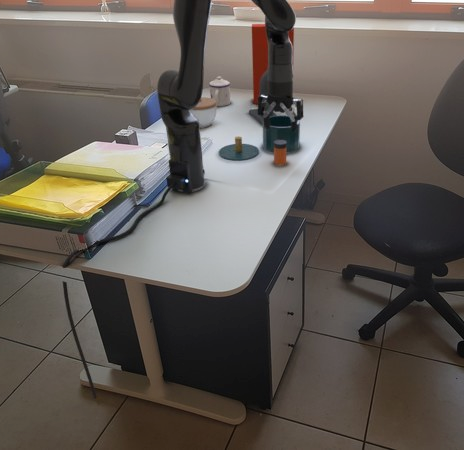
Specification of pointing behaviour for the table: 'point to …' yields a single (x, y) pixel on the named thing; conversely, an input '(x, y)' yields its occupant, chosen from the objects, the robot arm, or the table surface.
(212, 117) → the lidded bowl
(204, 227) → the table surface
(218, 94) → the teacup with lid
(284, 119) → the tin
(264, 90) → the faucet
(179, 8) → the robot arm
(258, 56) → the file binder
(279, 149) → the glue stick
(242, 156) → the tin lid
